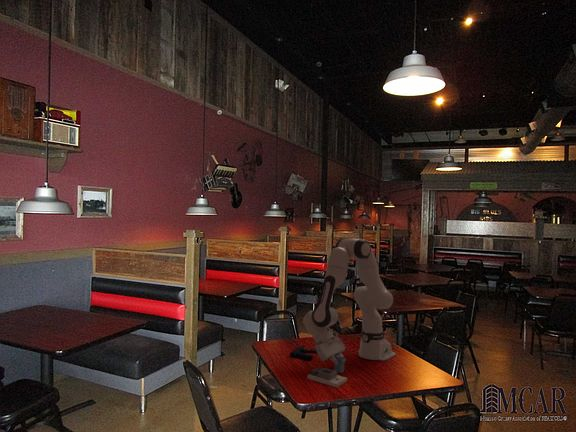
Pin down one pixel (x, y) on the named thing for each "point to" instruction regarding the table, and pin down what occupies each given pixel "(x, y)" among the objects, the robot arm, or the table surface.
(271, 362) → the table surface
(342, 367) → the block
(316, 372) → the chassis
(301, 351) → the gun
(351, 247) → the robot arm
